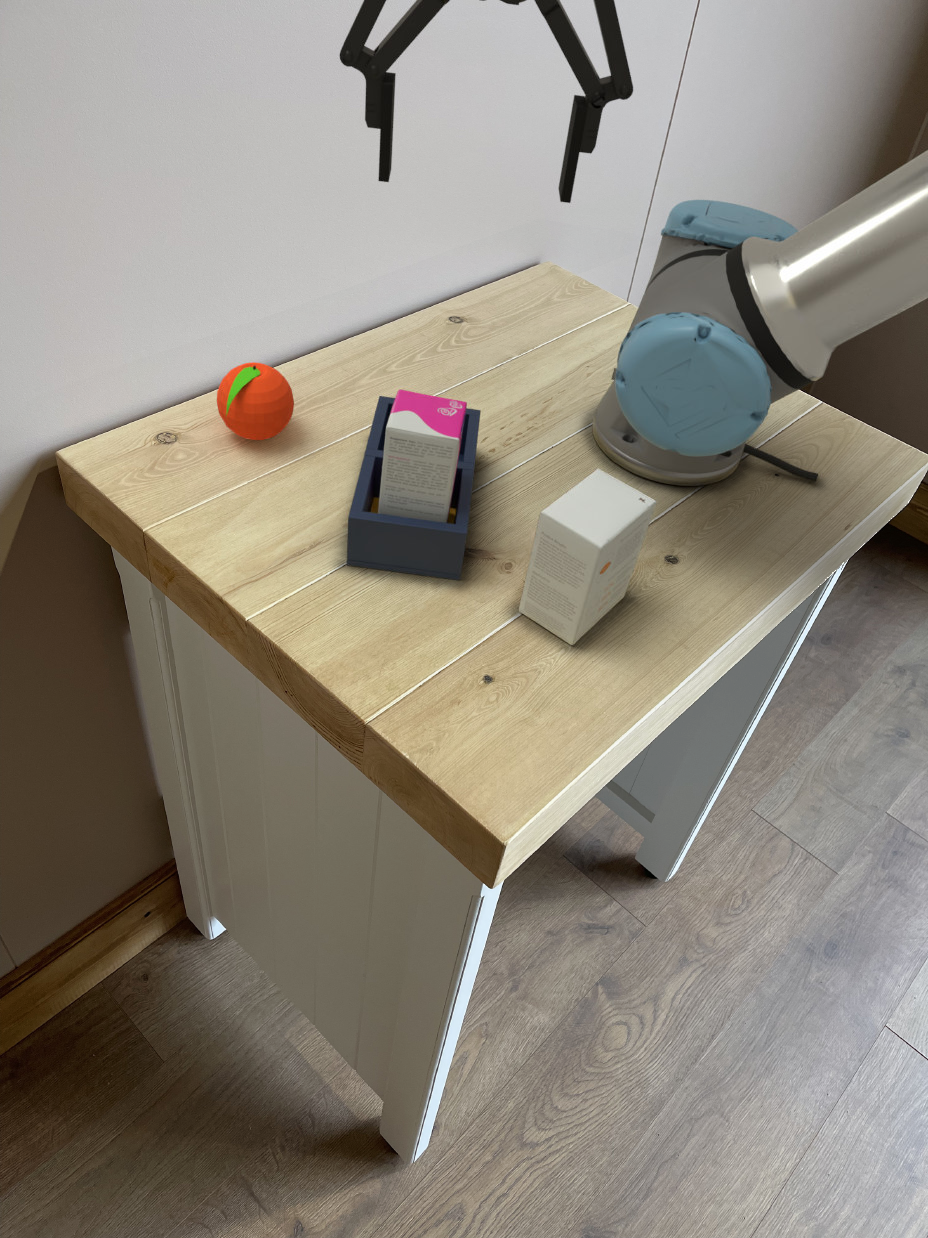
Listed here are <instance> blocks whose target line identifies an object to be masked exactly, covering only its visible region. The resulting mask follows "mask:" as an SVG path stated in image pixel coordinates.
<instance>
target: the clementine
mask: <svg viewBox="0 0 928 1238" xmlns="http://www.w3.org/2000/svg"><path fill="white" fill-rule="evenodd" d="M216 406H217V410H218V415H219V417H220V418H221V419H222V422H223V423H224V425H225V426H226V428H228V429H229V430H230V431H231V432H233V433H234V435H236V436H239V437H240V438H243V439H247V440H251V441H264V440H268V439H271V438H273V437H276V436H277V435H279V434H280V433H281V432H283V430H285V429H286V427H287V426H288V425H289V423H290V421H291V419H292V417H293V414H294V408H295V400H294V394H293V390H292V388H291V385H290V383H289V381H288V380H287V379H286V377H285V376H284V375H283V374H282V373H281V372H280V371H278V370H277V369H276V368H273V367H272V366H270V365H268V364H265V363H261V362H245V363H241V364H240V365H237V366H235V367H233V368H232V369H230V370H229V371H228V372H227V373H226V374H225V375H224V376H223V378H222V379H221V381H220V384H219V386H218V389H217V391H216Z"/></svg>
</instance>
